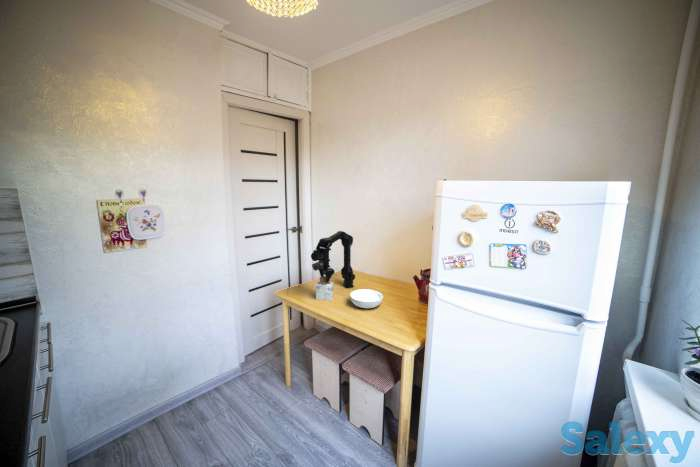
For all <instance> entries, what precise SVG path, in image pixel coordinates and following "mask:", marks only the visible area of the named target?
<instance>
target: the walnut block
mask: <svg viewBox="0 0 700 467" xmlns="http://www.w3.org/2000/svg"><path fill="white" fill-rule="evenodd" d="M319 282H320V283H321V284H322V285H326V284H330V282H331V279H330V280H329V282H328V283H327V282H326V276H325V275H324V276H322V277H321V276H320V277H319Z"/></svg>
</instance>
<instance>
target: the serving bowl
mask: <svg viewBox="0 0 700 467" xmlns="http://www.w3.org/2000/svg"><path fill="white" fill-rule="evenodd" d="M349 297H350V298H349V299H350V301H351V302H352V303H353V304H354V305H355V306H356V307H358V308H362V309H372V308H376V307H378V306H379V305H380V304H382V301H383V298H384V296H383V294H382V293H381V292H379V291H377V290H374V289H368V288H362V289H361V288H360V289H356V290H353V291H351V292H350V293H349Z"/></svg>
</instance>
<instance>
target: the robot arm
mask: <svg viewBox="0 0 700 467" xmlns="http://www.w3.org/2000/svg"><path fill="white" fill-rule="evenodd" d="M339 240H341V245H342V247H343V267H342V268H341V269H340V274H341V277H342V279H343V284H342V285H343V287H344V288H345V289H351V288H355V286H354V281H355V279H356V275H355V274H354V270H353V268H352V265H351V258H352V257H351V253H352V252H351V247H352V245H354V244H353V243H354V237H353V235H350V234H349V233H347V232H346V231H343V230H338V231H336V233H333V234H332V235H330V236H328V237H323V238H320V239H319V240H318V243H317V245H316V248H315V249H313V250H312V252H311V254H310V258H311V260H312V261H313V262H314V263H312V264H311V267H312V270H314V272H315V271H318V272H319V275H320V277H322V276H326V282H327V283H328V282H329V280H330V281H331V278H332V276H333V275H334V274H335V270H334V269H333V268H332V267H331V265H330V262H331V259H330V251H332V248H331V247H332V246H333V244H334V243H336V242H337V241H339Z"/></svg>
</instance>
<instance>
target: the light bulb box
mask: <svg viewBox="0 0 700 467" xmlns="http://www.w3.org/2000/svg"><path fill="white" fill-rule="evenodd" d="M333 297H334V282H333V281H330V284H326V285H322V284H321V283H320V281H317V283H316V284H315V300H316V301H317V300H318V301H332V300H333Z"/></svg>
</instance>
